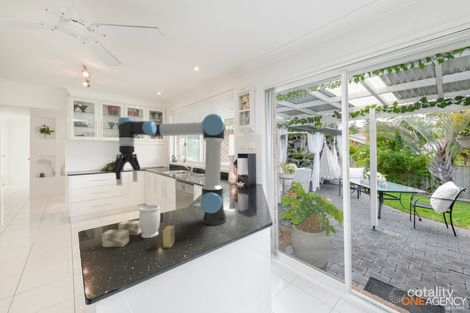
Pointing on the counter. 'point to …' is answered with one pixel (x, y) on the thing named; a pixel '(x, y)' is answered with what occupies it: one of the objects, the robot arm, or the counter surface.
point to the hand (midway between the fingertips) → (127, 183)
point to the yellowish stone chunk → (168, 236)
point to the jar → (149, 220)
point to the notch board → (120, 234)
